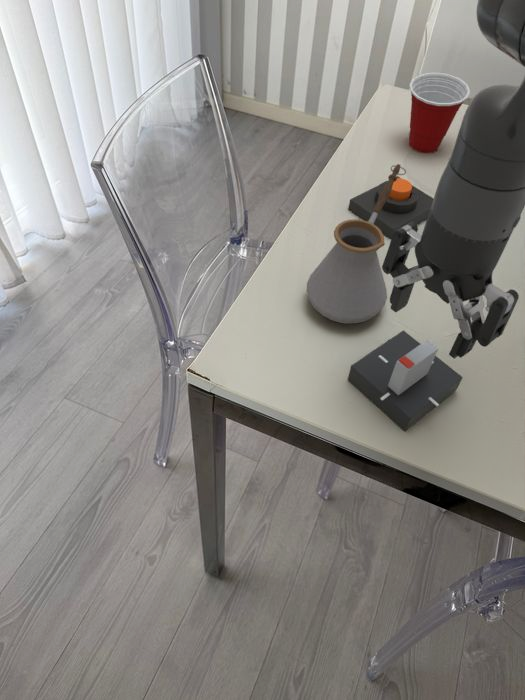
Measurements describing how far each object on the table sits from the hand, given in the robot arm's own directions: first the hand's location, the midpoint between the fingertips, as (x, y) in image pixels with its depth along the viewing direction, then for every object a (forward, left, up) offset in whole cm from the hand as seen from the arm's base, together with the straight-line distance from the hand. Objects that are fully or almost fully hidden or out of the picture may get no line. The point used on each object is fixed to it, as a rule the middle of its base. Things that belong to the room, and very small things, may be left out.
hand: (426, 330), depth 64 cm
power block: (-28, -27, -12) cm, 41 cm away
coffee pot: (-10, -18, -12) cm, 24 cm away
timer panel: (-1, -1, -12) cm, 12 cm away
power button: (-28, -27, -9) cm, 40 cm away
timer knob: (0, 0, -9) cm, 9 cm away
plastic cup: (-49, -38, -12) cm, 63 cm away
